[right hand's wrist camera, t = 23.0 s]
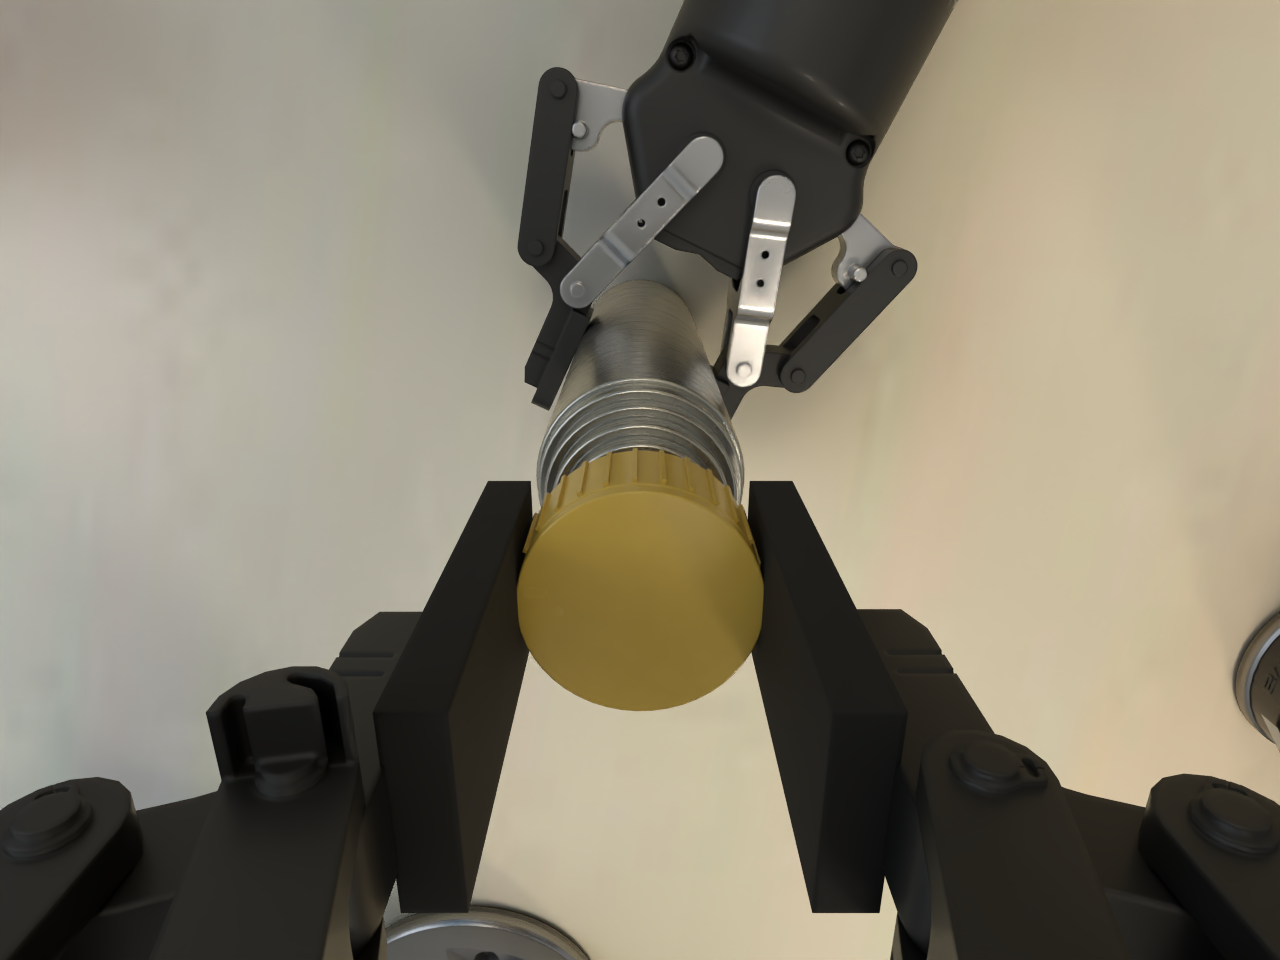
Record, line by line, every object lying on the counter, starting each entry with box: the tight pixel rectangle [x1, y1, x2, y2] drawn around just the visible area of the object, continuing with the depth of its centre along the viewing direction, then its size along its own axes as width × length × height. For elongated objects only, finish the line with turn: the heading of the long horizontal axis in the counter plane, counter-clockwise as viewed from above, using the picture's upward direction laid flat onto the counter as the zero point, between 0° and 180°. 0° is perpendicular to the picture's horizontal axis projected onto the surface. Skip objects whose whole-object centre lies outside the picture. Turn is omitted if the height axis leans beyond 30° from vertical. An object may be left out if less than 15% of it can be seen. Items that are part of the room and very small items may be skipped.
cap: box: [517, 448, 764, 711], centre depth 13 cm, size 4×4×2 cm
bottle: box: [536, 280, 744, 507], centre depth 24 cm, size 5×5×22 cm
